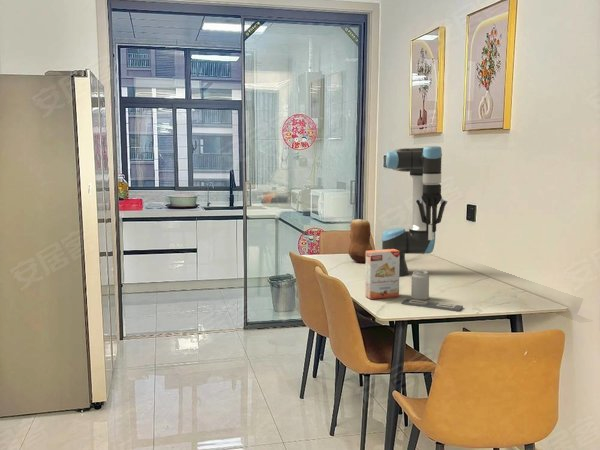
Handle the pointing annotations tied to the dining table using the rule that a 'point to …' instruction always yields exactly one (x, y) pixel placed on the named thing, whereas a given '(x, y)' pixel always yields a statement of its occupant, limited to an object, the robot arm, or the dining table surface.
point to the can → (420, 285)
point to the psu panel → (432, 305)
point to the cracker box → (382, 273)
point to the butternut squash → (359, 240)
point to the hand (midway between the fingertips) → (431, 239)
